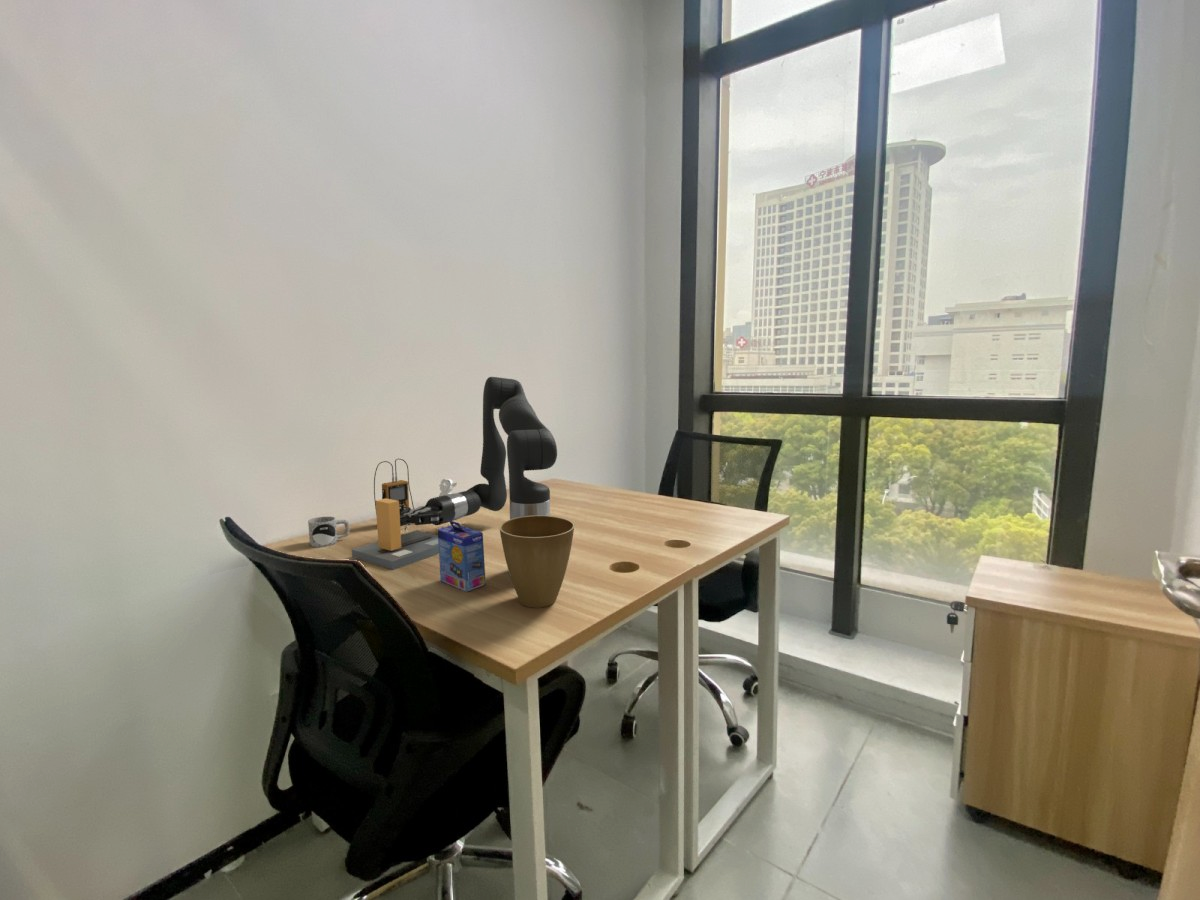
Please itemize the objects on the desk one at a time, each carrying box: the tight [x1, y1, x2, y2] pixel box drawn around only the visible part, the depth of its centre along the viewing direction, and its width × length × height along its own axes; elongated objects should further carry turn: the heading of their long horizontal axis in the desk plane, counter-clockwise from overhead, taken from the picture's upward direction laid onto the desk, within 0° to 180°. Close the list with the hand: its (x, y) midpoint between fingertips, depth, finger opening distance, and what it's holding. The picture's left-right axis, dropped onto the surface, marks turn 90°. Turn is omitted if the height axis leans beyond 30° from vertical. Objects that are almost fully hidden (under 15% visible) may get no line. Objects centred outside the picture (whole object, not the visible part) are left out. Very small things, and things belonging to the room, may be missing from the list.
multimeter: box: [373, 458, 415, 531], centre depth 166 cm, size 15×10×20 cm
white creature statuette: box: [438, 477, 458, 497], centre depth 180 cm, size 10×9×12 cm
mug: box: [307, 516, 350, 548], centre depth 152 cm, size 10×7×7 cm, turn 126°
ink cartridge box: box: [436, 520, 487, 593], centre depth 122 cm, size 10×6×14 cm, turn 51°
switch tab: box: [375, 498, 402, 551], centre depth 139 cm, size 5×3×12 cm, turn 57°
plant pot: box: [499, 515, 575, 608], centre depth 113 cm, size 15×15×16 cm
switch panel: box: [351, 529, 439, 570], centre depth 144 cm, size 16×20×2 cm
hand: (393, 522), depth 140 cm, fingers closed
